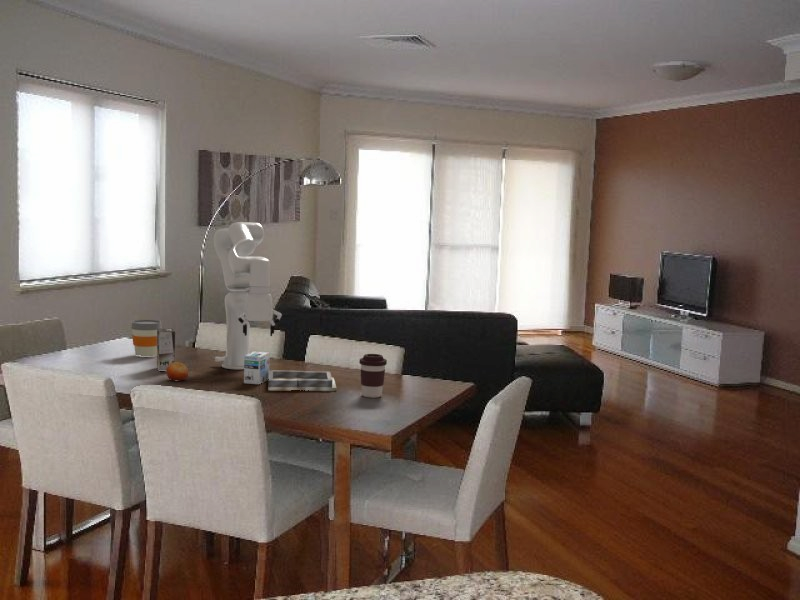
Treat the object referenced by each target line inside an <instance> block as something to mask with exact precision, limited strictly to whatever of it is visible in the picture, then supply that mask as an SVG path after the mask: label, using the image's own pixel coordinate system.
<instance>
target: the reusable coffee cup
mask: <svg viewBox="0 0 800 600" xmlns="http://www.w3.org/2000/svg"><path fill="white" fill-rule="evenodd" d="M157 329H163V326H162V321H161V320H156V319H138V320H132V321H131V330H132V334H131V338H132V344H133V346H134V353H135V356H136V355H141V356H153V355H157Z"/></svg>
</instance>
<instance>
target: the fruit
mask: <svg viewBox="0 0 800 600" xmlns="http://www.w3.org/2000/svg"><path fill="white" fill-rule="evenodd" d="M165 372H166V376H167V379H168V378H169V379H168V380H170V379H171V380H170V381H172V380H181V381H184V380H186V379H187V378H188V376H189V369H188V367H187V365H185V364H184V363H182V362H179V361H175V362H173V363H171V364H169V366H168V367H167V369H166V371H165ZM183 379H184V380H183Z"/></svg>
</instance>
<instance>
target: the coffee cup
mask: <svg viewBox="0 0 800 600" xmlns="http://www.w3.org/2000/svg"><path fill="white" fill-rule="evenodd" d="M387 364H388V360H387V358H384V356H383V355H382V354H378V353H367V354H364V355H363V357H361V358H359V365H360V385H361V396H362V397H365V398H370V399H371V398H372V399H373V398H380V397H382V394H383V387H384V383H385V373H386V369H385V368H386V367H385V366H387Z"/></svg>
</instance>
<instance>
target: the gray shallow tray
mask: <svg viewBox="0 0 800 600" xmlns="http://www.w3.org/2000/svg"><path fill="white" fill-rule="evenodd" d="M267 384H268V385H267V386H268V387H267V390H268V391H291V390H300V391H301V390H303V392H304V390H305V392H307V391H308V390H309V391H311V392H312V391H313V392H314V391H315V392H320V391H321V392H337V385H336V381H335V378H334V377H332V374H331V371H311V370H310V371H308V370H307V371H306V370H279V369H277V370H275V369H274V370H273V369H271V370H270V369H269V380H268V382H267ZM300 391H299V392H300Z"/></svg>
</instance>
